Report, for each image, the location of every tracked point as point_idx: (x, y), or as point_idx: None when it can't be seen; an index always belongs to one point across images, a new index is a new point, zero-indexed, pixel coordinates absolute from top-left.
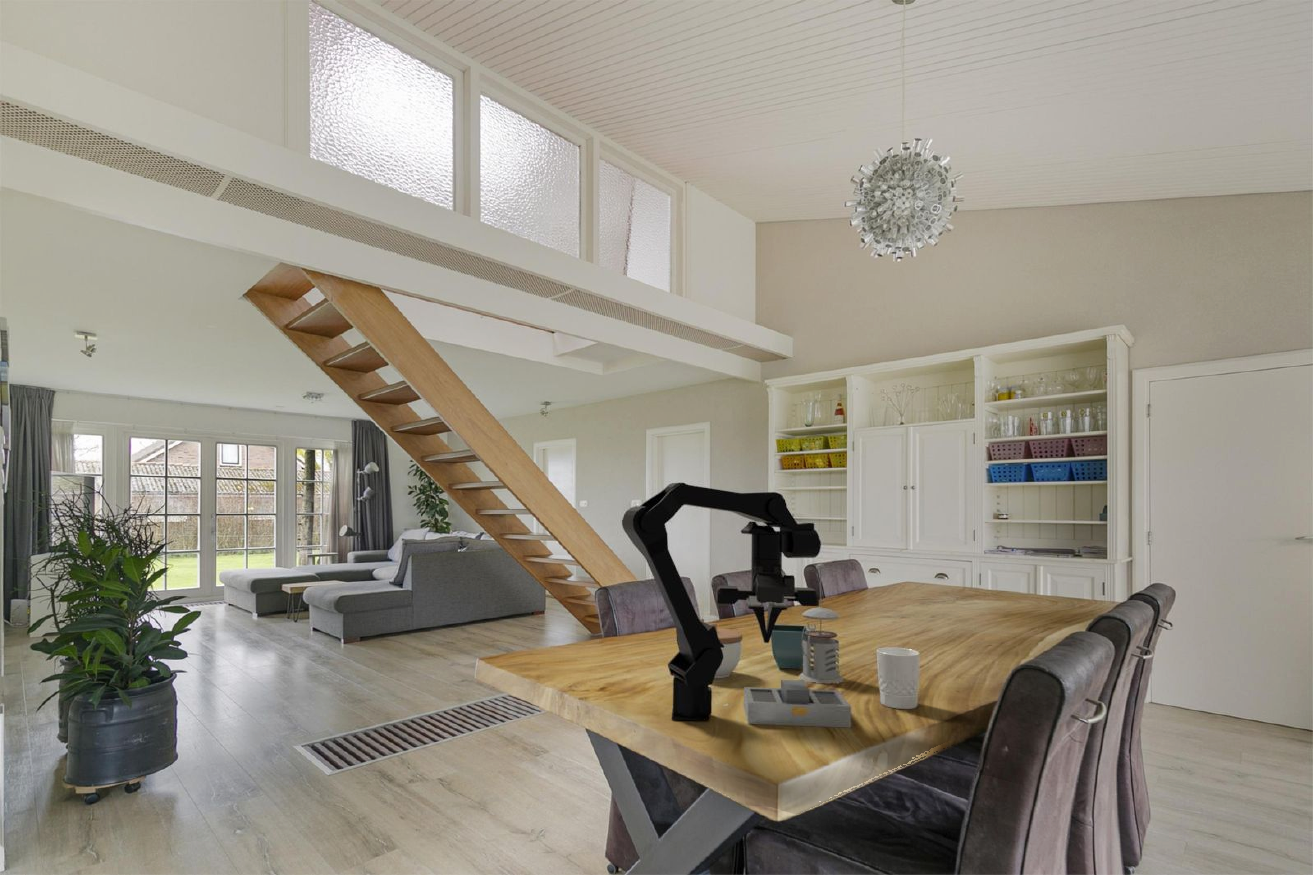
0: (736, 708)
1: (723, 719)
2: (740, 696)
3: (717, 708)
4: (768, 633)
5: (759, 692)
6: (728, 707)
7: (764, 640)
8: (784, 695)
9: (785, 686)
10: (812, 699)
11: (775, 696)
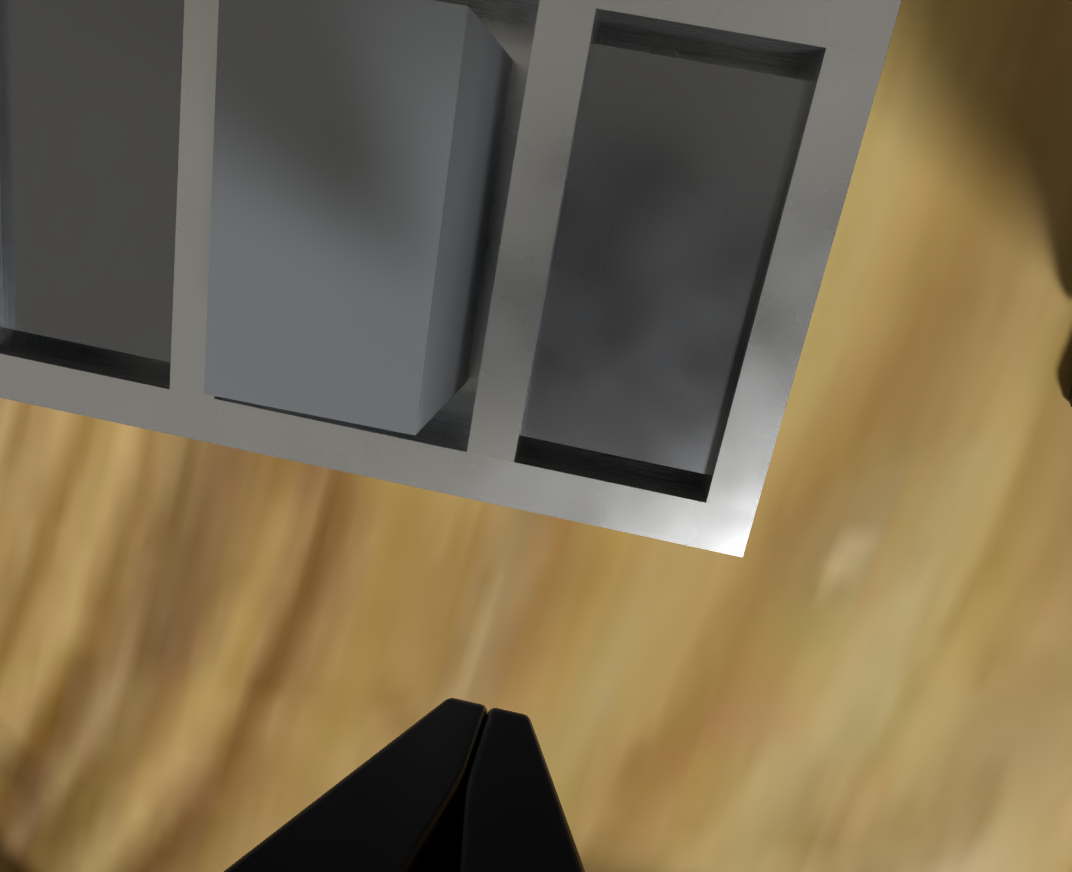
0: (797, 456)
1: (1014, 179)
2: (667, 727)
3: (951, 470)
4: (418, 792)
5: (637, 422)
6: (852, 486)
7: (526, 731)
8: (468, 171)
9: (440, 155)
10: None
11: (545, 223)
